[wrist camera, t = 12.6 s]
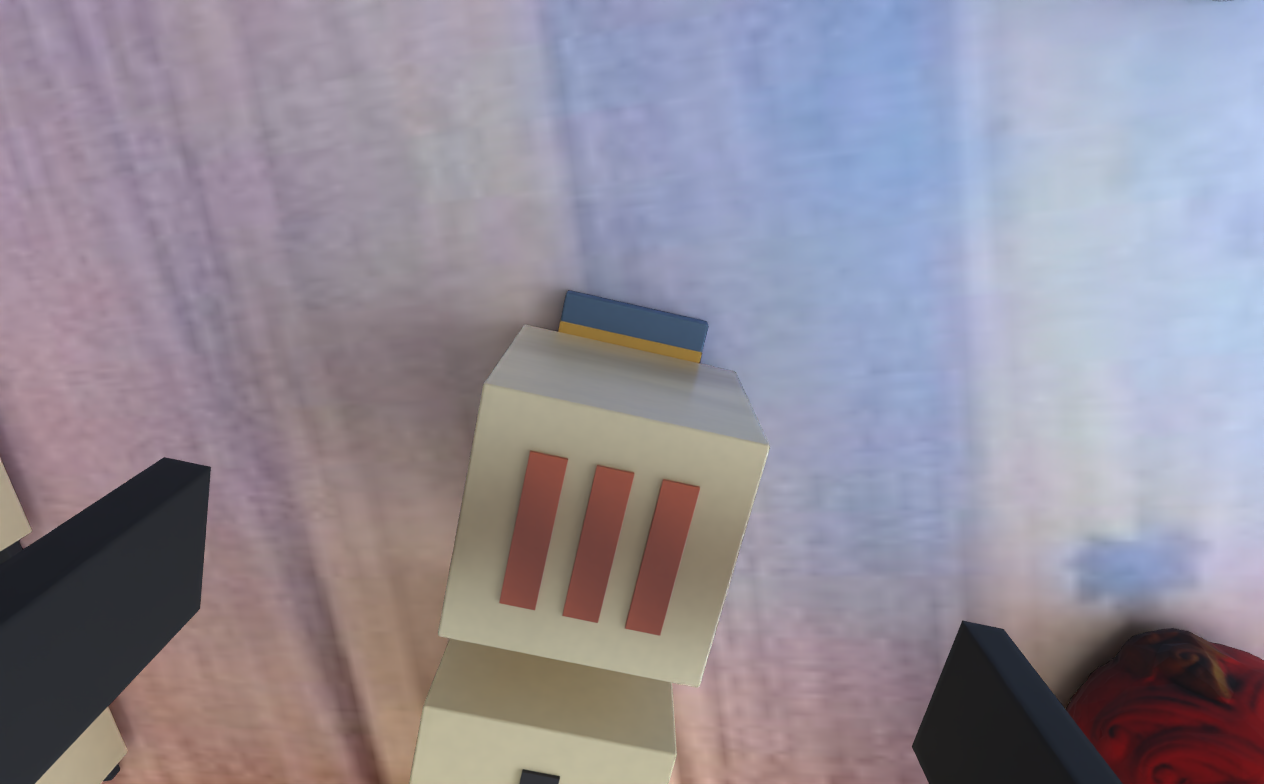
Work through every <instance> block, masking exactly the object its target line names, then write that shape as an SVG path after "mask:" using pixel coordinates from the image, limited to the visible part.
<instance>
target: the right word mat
mask: <svg viewBox="0 0 1264 784" xmlns="http://www.w3.org/2000/svg"><path fill="white" fill-rule="evenodd" d="M707 330H708V323H707V322H706V321H703V320H699V319H694V318H690V317H686V316H681V315H677V314H672V313H668V312H663V311H659V310H655V309H650V308H646V307H641V306H637V305H633V304H628V303H624V302H619V301H615V300H610V299H606V298H602V297H597V296H593V295H588V294H584V293H580V292H575V291H571V290H569V291H567V293H566V296H565V301H564V306H563V311H562V316H561V321H560V325H559V330H558V332H561V333H566V334H570V335H575V336H579V337H584V338H588V339H593V340H597V341H602V342H606V343H610V344H615V345H619V346H624V347H628V348H633V349H637V350H642V351H646V352H651V353H655V354H660V355H664V356H669V357H673V358H678V359H682V360H687V361H691V362H696V363H700V359H701V355H702V349H703V346H704V342H705V338H706V334H707ZM676 756H677V752H676V737H675V722H674V707H673V692H672V682H667V681H662V680H657V679H652V678H647V677H642V676H637V675H632V674H627V673H622V672H617V671H612V670H607V669H602V668H596V667H591V666H586V665H581V664H576V663H571V662H566V661H561V660H556V659H551V658H546V657H541V656H536V655H531V654H526V653H521V652H516V651H511V650H506V649H501V648H496V647H491V646H486V645H481V644H476V643H471V642H466V641H461V640H456V639H451V638H450V639H449V641H448V644H447V647H446V649H445V652H444V654H443V657H442V659H441V662H440V664H439V667H438V669H437V672H436V675H435V677H434V680H433V682H432V685H431V687H430V690H429V692H428V695H427V698H426V700H425V703H424V705H423V709H422V715H421V721H420V726H419V732H418V737H417V743H416V748H415V754H414V759H413V765H412V770H411V776H410V782H409V784H668V783H669V780H670V777H671V773H672V770H673V766H674V763H675V760H676Z"/></svg>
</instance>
